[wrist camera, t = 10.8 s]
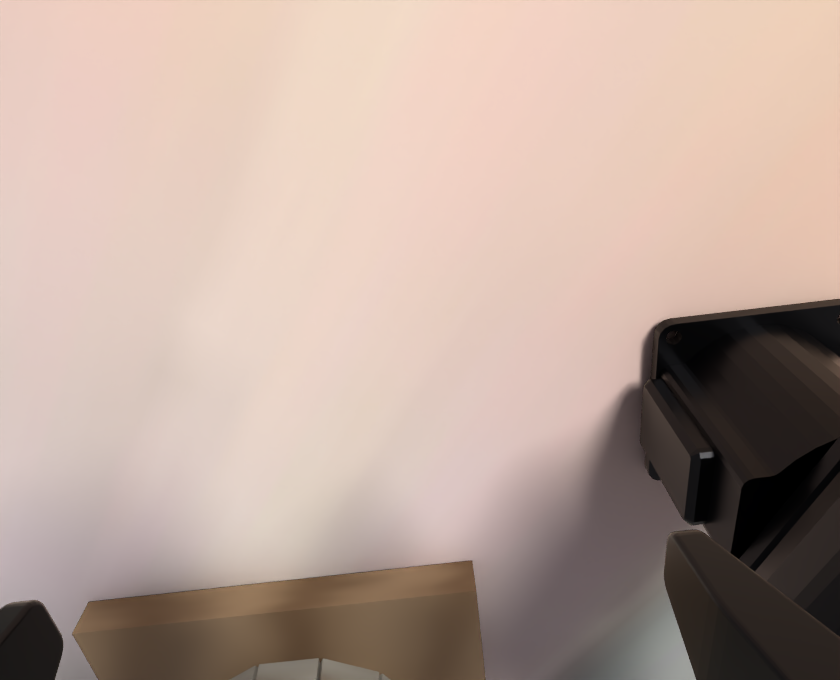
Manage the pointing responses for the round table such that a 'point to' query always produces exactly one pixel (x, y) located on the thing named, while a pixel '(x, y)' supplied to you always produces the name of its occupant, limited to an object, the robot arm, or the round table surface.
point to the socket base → (295, 630)
